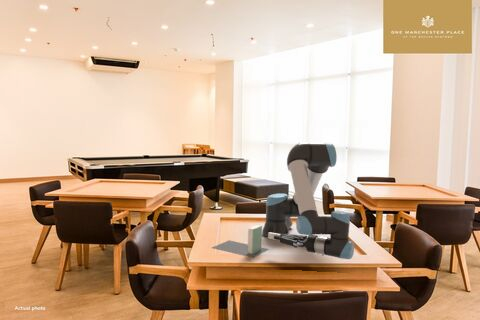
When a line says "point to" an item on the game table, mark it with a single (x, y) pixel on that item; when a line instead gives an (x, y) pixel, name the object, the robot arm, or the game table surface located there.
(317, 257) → the game table surface
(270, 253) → the game table surface
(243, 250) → the mat
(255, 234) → the tile
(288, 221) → the coffee pot
